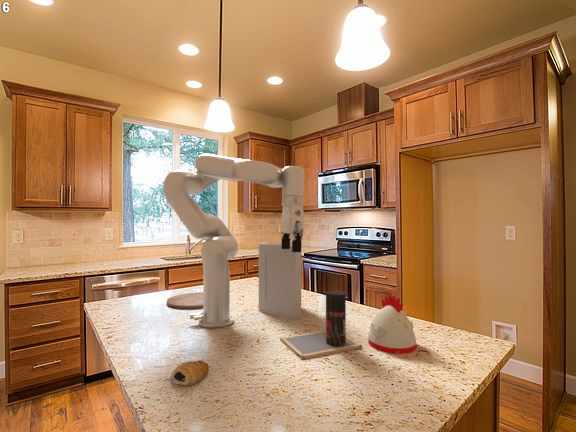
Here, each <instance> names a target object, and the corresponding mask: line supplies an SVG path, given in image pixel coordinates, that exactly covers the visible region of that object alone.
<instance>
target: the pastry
mask: <svg viewBox="0 0 576 432" xmlns="http://www.w3.org/2000/svg"><path fill="white" fill-rule="evenodd" d="M209 369H210V365H209V363H208V362H205V361H203V360H201V359H200V360H192V361H186V362H182V364H179V365H177V366H176V367H175V368H174V370H173V371H172V372H171V374H170V376H169V379H170V381H171V382H172V383H173V384H174V385H182V386H185V387H187V386H192V385H195V384H196V383H197V382H200V381H202V380H203V379H204V377H206V375H207V374H208V373H209Z"/></svg>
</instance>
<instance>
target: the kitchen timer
mask: <svg viewBox="0 0 576 432" xmlns="http://www.w3.org/2000/svg"><path fill="white" fill-rule="evenodd" d="M400 300H401V299H400V297H397V298H396V296H395V295H391V294H389V295H388V296H387V297H386V296H385V297H384V299H382V300H381V305H382V308H381V309H379V311H378V312H377V313H376V314H375V316H374V318H373V319H372V322H371V323H370V326H369V327H370V328H369V331H368V345H369V346H370V347H371V348H373V349H374V350H377V351H378V352H382V353H385V354H393V355H397V354H398V355H404V354H411V353H413V352H415V351H416V349H417V339H416V335H415V334H416V333H415V330H414V329H413V328H414V324H413V322H412V320H410V319H409V317H408V316H407V314H406V313H405V312H404V311H403V310H402V309H403V306H404V302H402V303H401V301H400Z"/></svg>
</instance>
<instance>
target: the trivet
mask: <svg viewBox="0 0 576 432" xmlns="http://www.w3.org/2000/svg"><path fill="white" fill-rule="evenodd" d="M166 306H167V307H169V308H172V309H177V310H198V309H201V310H202V309H203V291H202V292H201V291H200V292H196V291H195V292H188V293H187V292H186V293H179V294H177V295H176V294H175V295H173V296H170V297H168V298H167V299H166Z"/></svg>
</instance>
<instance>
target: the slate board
mask: <svg viewBox="0 0 576 432" xmlns="http://www.w3.org/2000/svg"><path fill="white" fill-rule="evenodd" d="M280 341H281V343H282V344H284V345H285V346H286V347H287V348H288V349H289V350H290V351H292V353H293V354H295V355H296V356H297V357H298V358H299V359H300V360H306V359H311V358H316V357H320V356H321V357H322V356H325V355H326V356H327V355H332V354H337V353H343V352H347V351H352V350H356V349H362V348H363V344H361V343H360V342H358V341H355V339H352V338H351V337H349V336H348V335H346V344H345V345H343V346H331V345H328V344H327V343H326V330H321V331H315V332H309V333H307V332H306V333H301V334H296V335H289V336H283V337H280Z"/></svg>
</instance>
